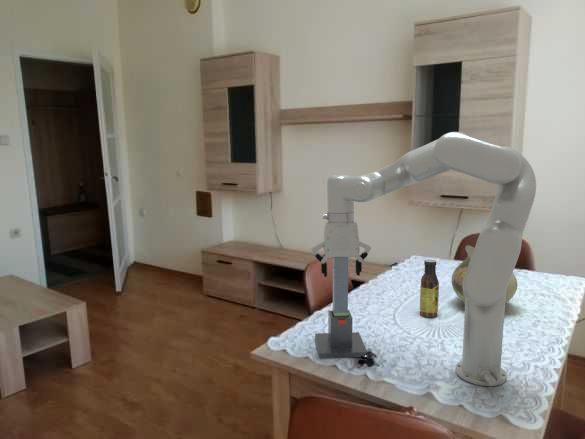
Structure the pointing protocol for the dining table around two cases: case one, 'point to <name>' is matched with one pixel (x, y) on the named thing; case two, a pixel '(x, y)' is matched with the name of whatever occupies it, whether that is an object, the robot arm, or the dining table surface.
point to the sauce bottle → (429, 290)
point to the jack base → (340, 339)
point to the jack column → (340, 287)
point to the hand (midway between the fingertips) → (341, 274)
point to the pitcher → (461, 271)
